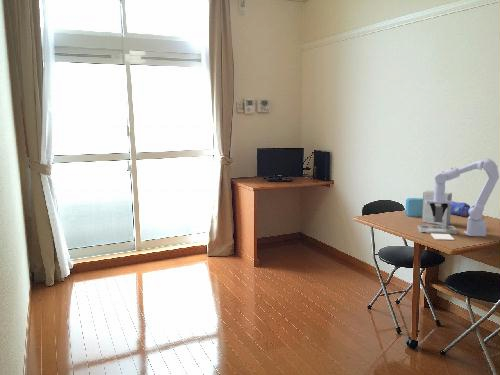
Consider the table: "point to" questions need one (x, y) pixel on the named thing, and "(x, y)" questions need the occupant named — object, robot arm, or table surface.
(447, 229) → the grey rail
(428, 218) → the hard drive box
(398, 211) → the table surface
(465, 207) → the pencil case
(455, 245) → the table surface
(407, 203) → the data package
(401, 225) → the table surface
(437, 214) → the square block
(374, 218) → the table surface
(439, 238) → the mat
